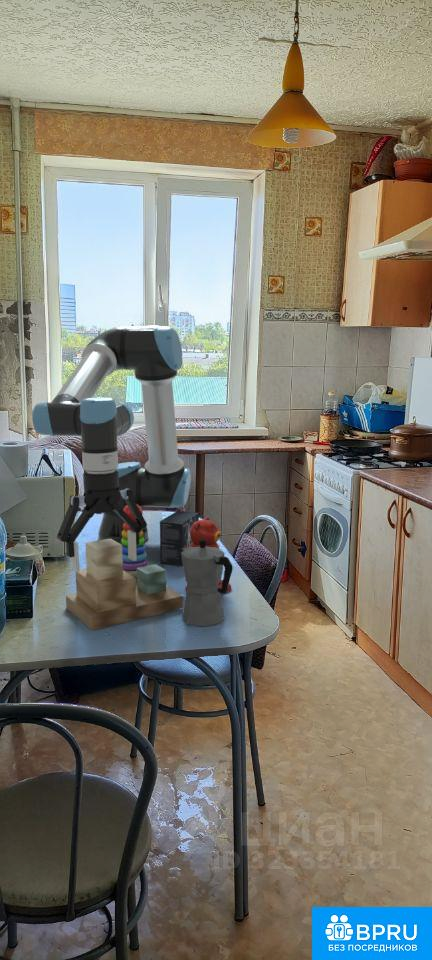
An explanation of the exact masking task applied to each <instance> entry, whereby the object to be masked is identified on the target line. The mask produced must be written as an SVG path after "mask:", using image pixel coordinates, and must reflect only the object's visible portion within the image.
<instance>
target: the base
mask: <svg viewBox="0 0 432 960" xmlns="http://www.w3.org/2000/svg"><path fill="white" fill-rule="evenodd" d="M79 570H80V572H75V587H76V588H75V592H76V593H69V594H66V595H65V604H66V609H67V611H70V612H71V614H73V615H74V616H75V617H76V618H77V619H79V620H80V621H81V622H82V623H83V624H85V626H86V627H88V628H89V629H90V630H91V631H96V630H101V629H105V628H109V627H113V626H117V625H120V624H125V623H129V622H132V621H133V622H134V621H137V619H138V620H140V619H141V618H142V619H146V618H150V617H153V616H157V615H161V614H166V613H170V612H174V611H178V610H181V609H182V610H183V609H184V595H182V594H181V593H179V592H177V591H176V590H174V589H173V588H171V587H169V586H168V585H167V570H166V569H165V568H163V567H161V566H159V565H158V564H156V563H155V564H151V565H150V564H149V565H146V566H144V567H139V568H137V578H135V577H133V576H131V575H130V574H128V573H127V572H125V571H123V576H118V577H113V578H108V579H103V580H98V581H97V580H96V579H95V578H93V577H92V576H90V575H89V574H88V573H87V567H85V568H79ZM142 619H141V620H142ZM128 621H129V622H128Z"/></svg>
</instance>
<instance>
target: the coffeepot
mask: <svg viewBox="0 0 432 960" xmlns="http://www.w3.org/2000/svg"><path fill="white" fill-rule="evenodd" d="M206 541H207V540H205V539H200V540H199V544H200V547H185V548H182V550H183V552H181V557H182V563H183V565H182V568H183V574H184V579H185V582H186V585H187V584H188V590H187V591H185V597H184V601H183V608H182V619H183V621H184V622H185V623H186V624H188V625H190V626H194V627H211V626H216V625H219V624H220V623H221V622H223V620H224V618H225V612H224V611H225V610H224V607H223V606H224V605H223V601H222V594H223V595H225V594H227V592H228V591H227V587H228V584H229V583H230V579H231V577H232V573H233V570H234V567H233V564H232V562H231V560H230V558H228V557H227V556H225V551H223V550H222V549H219V548H220V547H219V548H213V547H205V546H206ZM222 567H223V568H224V570H223V572H224V573H223V572H222ZM221 574H222V575H223V578H222V577H221ZM221 580H223V581H222V589H220V588H218V583H219V582H220V581H221ZM226 591H227V592H226Z"/></svg>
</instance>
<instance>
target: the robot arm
mask: <svg viewBox="0 0 432 960" xmlns="http://www.w3.org/2000/svg"><path fill="white" fill-rule="evenodd" d="M182 366H183V348H182V343H181V340H180V337H179V334H178V333H177V331H176V330H175V328H173V327H171V326H160V325H142V326H141V325H139V326H138V325H135V326H133V325H132V326H125V325H124V326H116V327H113V328H109V329H108V330H106V331H104V332H102V333H100V334H98V335H97V336H96V337H94V338H93V339H92V340H91V341H89V343H88V344H87V345H86V346H85V347H84V349H83V351H82V353H81V360H80V361H79V363H78V365H77V366H76V367H75V368H74V370H73V371H72V373H71V374H70V376H69V377H68V378H67V380H66V381H65V383H64V384H63V386H61V388H60V390H59V391H58V393H57V394H56V395H55V397H54V398H53V399H52V401H51V402H48V401H44V402H39V403H36V405H34V407H33V409H32V410H33V411H32V415H31V416H32V418H31V420H32V421H31V422H32V426H33V429H34V431H35V433H37V434H38V435H42V436H51V437H55V436H57V437H58V436H59V437H60V436H62V437H63V436H65V437H69V436H70V437H71V436H72V437H75V436H76V437H79V436H80V437H81V452H82V453H81V457H82V459H81V460H82V469H83V470H84V472H83V473H82V476H83V477H82V479H83V480H82V481H83V495H79V496H78V495H77V496H76V495H73V494H72V495H70V496H69V504H68V508H67V511H66V513H65V515H64V518H63V520H62V522H61V524H60V526H59V530H58V533H57V535H56V538H57V539H58V540H59V541H60V542H62V543H63V542H64V543H65V545H66V546H65V547H66V548H65V549H66V555H67V557H69V558H70V563H71V564H70V566H71V570H72V571H73V572H75V573H76V572H80V556H79V555H80V554H79V542H77V541H76V540H77V539H78V537H79V535H80V534H81V532H83V530H84V528H85V527H86V525H87V524H88V523H89V521H90V520H91V518H92V517H94V516H95V515H101V514H102V518H101V522H100V526H99V529H98V533H97V534H98V538H97V539H98V541H99V540H104V539H110V538H111V539H112V540H114V541H116V542H118V543H119V544H121V545H123V544H122V543H121V540H122V538H123V536H122V531H123V530H124V529H123V524H124V523H126V524H127V525H128V526H129V527H130V528H131V530H127V533H128V558H129V559H131V560H133V561H137V555H136V545H139V532H141V530H142V531H143V536H142V537H143V538H144V540H145V542H146V541H147V540H148V539H149V530H148V523H147V521H146V520H145V518H144V516H143V515H144V514H141V512H140V510H139V508H138V506H137V505H139V506H140V507H141V509H142V510H143V507H145V508H146V507H149V508H150V507H151V508H169V509H172V508H183V507H184V506H185V505H186V503H187V502H188V498H189V493H190V489H191V481H192V480H191V479H192V478H191V477H192V473H191V469H190V468H185V462H184V461H183V459H181V458H180V457H179V452H178V450H179V449H178V439H177V438H178V437H177V426H176V425H177V424H176V414H175V413H176V412H175V411H176V410H175V400H174V389H173V388H174V387H173V386H174V385H173V381H174V379H175V378H176V377H177V375H178V371H179V370H180V369H182ZM119 370H121V371H122V370H127V371H134V377H135V379H136V380H137V381H139V382H140V383H141V393H142V403H143V412H144V422H145V423H144V424H145V430H146V432H145V433H146V442H147V443H146V444H147V450H148V451H147V453H148V460H146V462H145V463H144V467H142V465H141V463H140V462H139V461H137V462H136V461H130V462H128V461H127V462H121V463H119V458H118V457H119V455H118V453H119V452H118V449H119V448H118V437H119V436H122V435H124V434H126V433H127V432H128V431H129V430H131V428H132V427H133V425H134V421H135V416H134V412H133V410H132V408H131V407H130V406H129V405H128V404H127V403H125V402H121V401H116V400H115V399H114V398H112V397H95V395H96V394H97V392H98V391H99V389H100V387H101V386H102V384H103V383H104V381H105V380H106V377H109V376H111V375H112V374H114V372H115V371H119ZM82 503H84V508H83V509H82V510H81V514H80V515H79V517H78V518H77V519H76V517H77V514H78V512H79V509H80V507H81V506H82ZM127 505H128V507H129V509H130V511H131V513H132V515H133V516H134V518H135V520H136V522H137V523H135V522H134V521H133V520H132V519H131V518H130V517H129V516H128V515H127V514H126V513H125V512H124V510H123V509H124V508H125V506H127ZM75 519H76V520H75ZM74 521H75V522H74Z"/></svg>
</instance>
